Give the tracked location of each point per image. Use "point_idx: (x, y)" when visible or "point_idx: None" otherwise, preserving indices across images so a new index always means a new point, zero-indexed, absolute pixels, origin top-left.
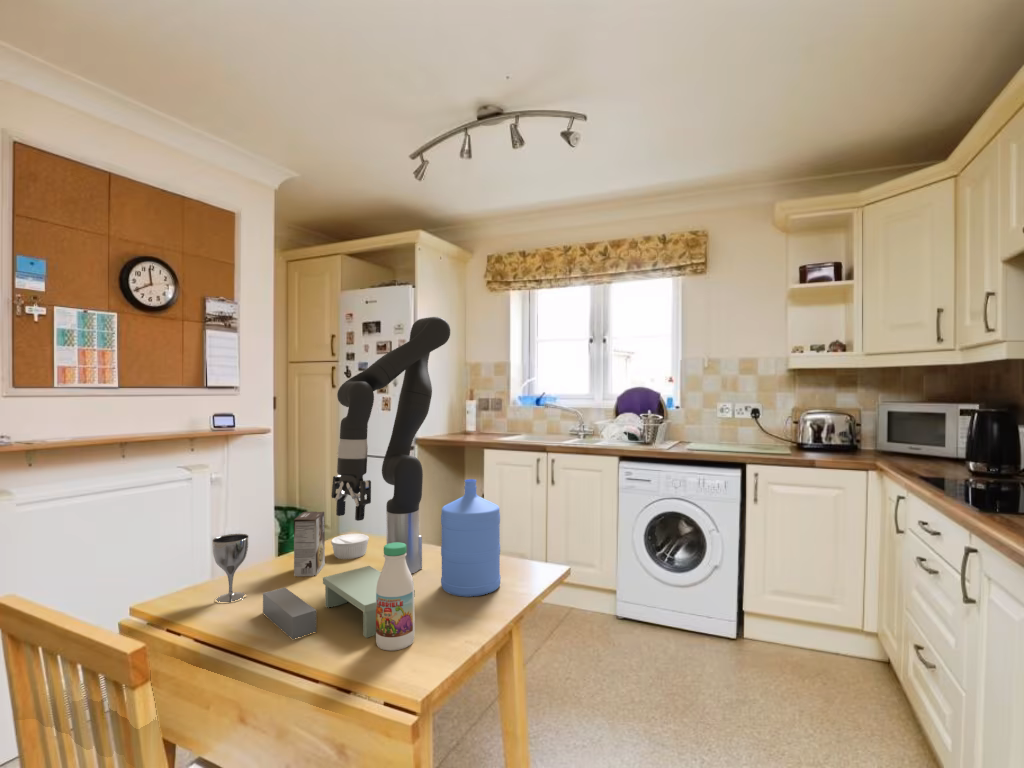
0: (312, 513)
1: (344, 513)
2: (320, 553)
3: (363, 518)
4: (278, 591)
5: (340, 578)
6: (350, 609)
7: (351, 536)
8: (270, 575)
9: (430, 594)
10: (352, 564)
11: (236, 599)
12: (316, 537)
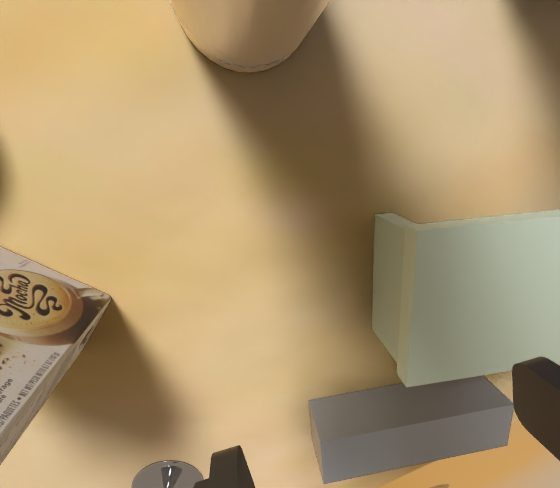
0: None
1: (239, 455)
2: (25, 305)
3: (546, 360)
4: (339, 456)
5: (456, 348)
6: None
7: None
8: None
9: (519, 49)
10: (41, 147)
11: (195, 480)
12: (32, 395)
